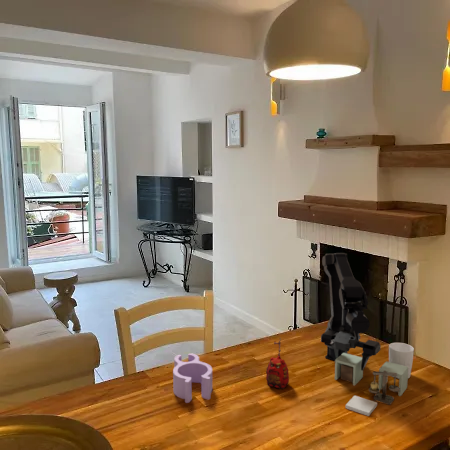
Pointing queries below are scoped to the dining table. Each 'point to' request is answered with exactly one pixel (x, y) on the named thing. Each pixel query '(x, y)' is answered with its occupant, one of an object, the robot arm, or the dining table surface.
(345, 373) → the walnut block
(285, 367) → the red clay folk toy
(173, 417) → the dining table surface
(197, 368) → the clip
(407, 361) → the white cup
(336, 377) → the green cover left
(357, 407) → the grey ceramic tile
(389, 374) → the bronze balance
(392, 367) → the green cover right
